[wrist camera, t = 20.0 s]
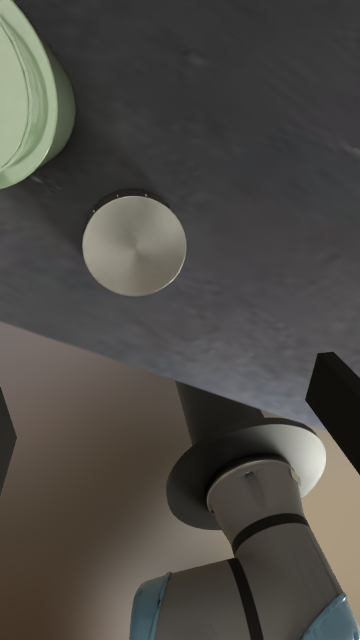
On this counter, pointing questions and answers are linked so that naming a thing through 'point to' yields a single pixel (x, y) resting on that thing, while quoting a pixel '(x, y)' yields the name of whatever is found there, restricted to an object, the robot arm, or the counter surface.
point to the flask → (30, 98)
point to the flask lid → (133, 243)
